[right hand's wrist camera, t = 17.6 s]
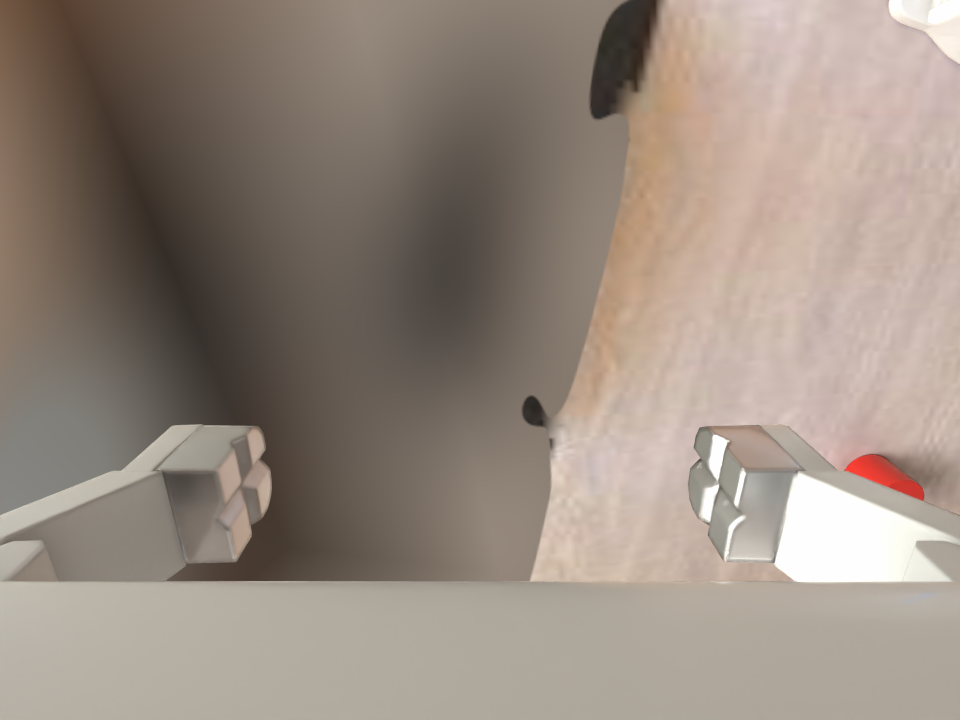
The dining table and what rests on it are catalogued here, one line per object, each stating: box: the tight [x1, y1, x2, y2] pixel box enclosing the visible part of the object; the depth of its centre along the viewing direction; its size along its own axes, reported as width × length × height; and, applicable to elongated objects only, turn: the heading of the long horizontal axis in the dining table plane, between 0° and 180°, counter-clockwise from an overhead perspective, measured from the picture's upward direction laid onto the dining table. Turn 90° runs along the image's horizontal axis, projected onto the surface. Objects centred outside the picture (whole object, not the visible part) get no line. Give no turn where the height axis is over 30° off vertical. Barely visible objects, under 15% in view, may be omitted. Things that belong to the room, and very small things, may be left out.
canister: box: [845, 454, 924, 501], centre depth 51 cm, size 4×4×4 cm
